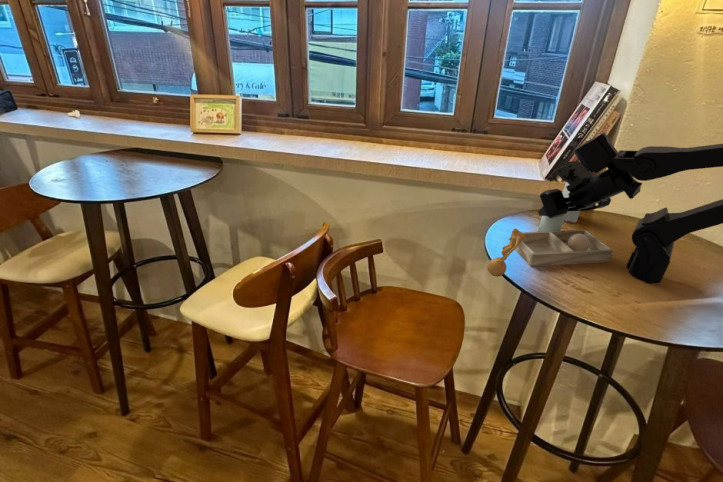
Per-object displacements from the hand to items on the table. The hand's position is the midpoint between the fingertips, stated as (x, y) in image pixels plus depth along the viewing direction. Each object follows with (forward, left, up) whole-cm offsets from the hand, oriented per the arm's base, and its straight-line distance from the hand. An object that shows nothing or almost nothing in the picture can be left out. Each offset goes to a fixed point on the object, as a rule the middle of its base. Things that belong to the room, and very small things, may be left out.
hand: (550, 211), depth 103 cm
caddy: (-10, +3, -7) cm, 13 cm away
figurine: (-17, +21, -7) cm, 28 cm away
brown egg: (-10, -2, -6) cm, 12 cm away
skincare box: (+8, -11, -7) cm, 15 cm away
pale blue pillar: (-1, 0, -7) cm, 7 cm away
